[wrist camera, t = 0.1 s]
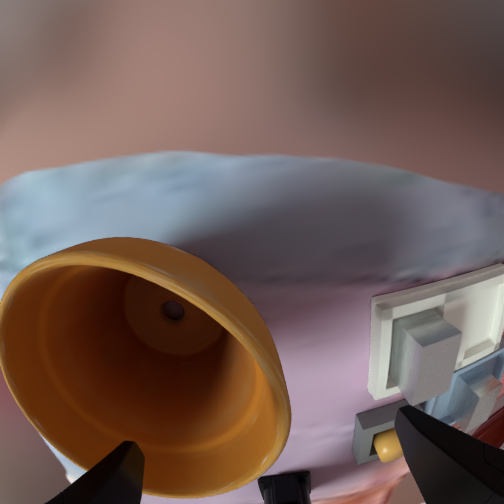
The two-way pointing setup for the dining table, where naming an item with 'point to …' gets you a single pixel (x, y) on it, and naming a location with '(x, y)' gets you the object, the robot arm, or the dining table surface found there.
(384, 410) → the grey square frame
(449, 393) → the tray
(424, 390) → the block
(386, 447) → the button
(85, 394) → the flower pot
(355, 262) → the dining table surface
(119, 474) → the robot arm
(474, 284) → the white divided tray
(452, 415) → the billet
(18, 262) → the dining table surface
